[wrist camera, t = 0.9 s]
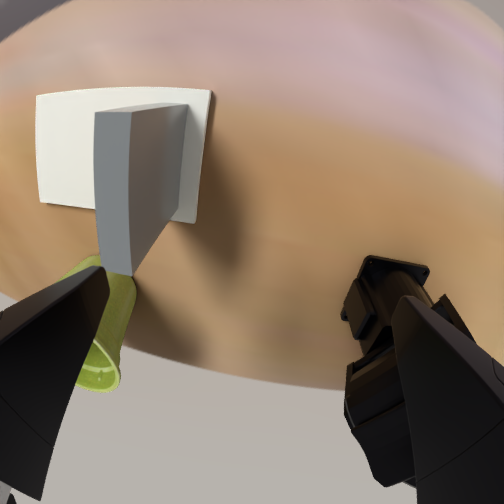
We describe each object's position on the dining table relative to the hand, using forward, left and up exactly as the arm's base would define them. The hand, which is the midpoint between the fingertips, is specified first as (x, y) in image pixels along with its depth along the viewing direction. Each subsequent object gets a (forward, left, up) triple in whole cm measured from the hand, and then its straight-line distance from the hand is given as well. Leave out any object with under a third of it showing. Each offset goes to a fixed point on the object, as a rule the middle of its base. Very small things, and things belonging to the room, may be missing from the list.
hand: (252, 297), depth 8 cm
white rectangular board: (+11, -1, -12) cm, 16 cm away
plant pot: (+12, +11, -12) cm, 20 cm away
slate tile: (+6, -1, -11) cm, 13 cm away
